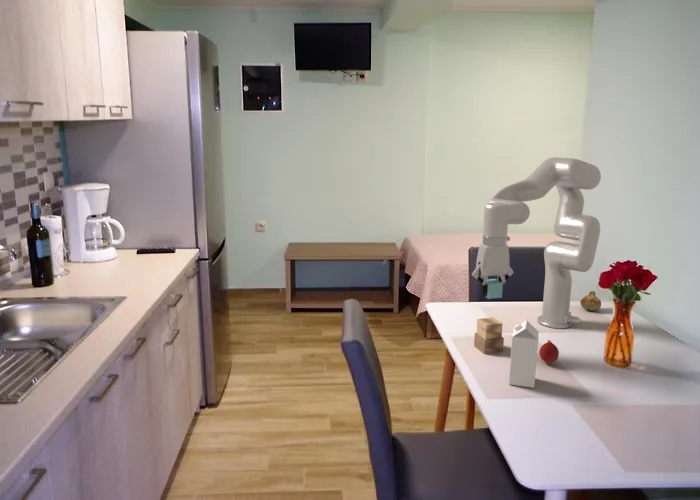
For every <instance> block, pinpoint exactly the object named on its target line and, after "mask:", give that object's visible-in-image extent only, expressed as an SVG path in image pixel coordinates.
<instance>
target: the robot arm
mask: <svg viewBox="0 0 700 500" xmlns="http://www.w3.org/2000/svg"><path fill="white" fill-rule="evenodd" d="M601 175H602V174H601V171H600V169H599V167H598V166H597V165H594V164H592V163H589V162H586V161H584V160H581V159H578V158H574V157H573V158H568V157H555V156H554V157H550V158H546V159H544V161H543V162H541V164H539V165H538V166H537V167H536V169H535V170H534V171H533V172H532V173H530V174H529V175H528V176H527V177H526V178H524V179H522V180H519V181H517V182H514V183H511V184H509V185H506V186H505V187H504V188H501V189H500V190H498V191H497V193H495V195H493V196H492V197H491V199H490V200H489V201H488V202H487V203H486V204H485V205H484V210H483V211H484V213H483V214H484V215H483V226H482V227H483V230H482V231H483V232H482V244H479V247H478V250H477V251H478V252H477V256H476V262H475V269H474V270H473V272H471V276H472V277H473V278H475V280H476V281H477V282H479V283H480V286H479V293H480V295H481V296H482V297H484V298H486V297H487V285H486V283H487V280H488V278H489V277H497V280H498V281H500V282H502V283H503V289H504V284H506V282H507V280H509V278H510V277H511V276H512V275H513V274H514V271H513V268H512V267H511V266H510V250H509V245H508V242H509V241H511V237H510V236H508V226H509V225H522V224H524V223H525V222H526V221H528V219H529V217H530V214H531V212H530V207H529V206H528V204H526V203H525V202H531V201H537V200H540V199H542V198H544V197H545V196H546V195H547V194H548V193H549V192H550V191H552V189H553V188H554V187H555V188H556V190H557V193H558V195H559V199H558V200H559V201H558V208H557V212H556V216H555V222H554V226H553V227H554V228H553V232H554V234H555V236H556V237H560V238H563V239H568V240H574V241H577V242H578V241H579V242H578V243H579V244H578V243H577V244H576V243H573V242H566V241H561V240H560V241H559V240H555V241H551V242H549V243H547V244H546V245H545V247H544V250H543V257H544V258H543V260H544V267H545V270H544V272H545V273H544V274H545V275H544V287H543V299H542V300H543V301H542V311H541V315H539V316H538V317H537V318H536V320H537V322H538V324H540V325H542V326H545V327H548V328H552V329H568V328H570V327H572V326H573V324H578V325H580V324H581V322H582V321H581V318H579V316H574V315H572V312H571V311H570V304H571V294H572V286H573V285H572V284H573V283H572V282H573V278H572V274H571V271H576V272H580V273H586V272H588V271H589V270H590V269H591V268H592V266H593V263H594V261H595V256H596V252H597V248H598V243H599V240H600V232H601V224H600V221H599V219H598V218H597V217H596V216H593V215H590V214H589V215H588V214H583V210H584V205H585V199H584V196H583V193H582V191H581V190H594V189H595V188H597V187H598V186H599V184H600V183H601V179H602V176H601ZM479 274H480V275H479ZM503 293H504V290H503V291H502V296H503Z"/></svg>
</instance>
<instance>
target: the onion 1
mask: <svg viewBox="0 0 700 500" xmlns="http://www.w3.org/2000/svg"><path fill="white" fill-rule="evenodd" d="M538 354H539V357H540V359H541V360H542V361H543V362H544V363H545V364H546V365H551V364H552V363H555V362H556V361H557V360H558V358H559V355H560V352H559V348H558V347H557V346H556V344H554V343H553V342H552V341H551V340H550V339H547V342H545V343H543V344H542V345H541V346H540V348H539V351H538Z"/></svg>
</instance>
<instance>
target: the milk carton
mask: <svg viewBox="0 0 700 500" xmlns="http://www.w3.org/2000/svg"><path fill="white" fill-rule="evenodd" d="M525 319H526V320H524V321H523V322H521V323H517V324H516V325H514V326H513V330H512V337H511V350H510V363H509V379H508V385H510V386H517V387H526V388H529V389H530V388H531V389H534V388H535V385H536V384H535V383H536V370H537V358H538V346H539V330H538V329H537V328H536V327H534V326H533V325H532V324H531V323H530V322H529V321H528V317H526V318H525Z"/></svg>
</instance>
